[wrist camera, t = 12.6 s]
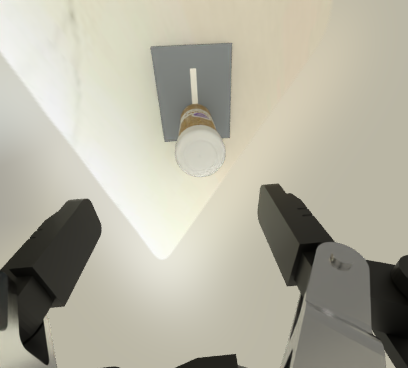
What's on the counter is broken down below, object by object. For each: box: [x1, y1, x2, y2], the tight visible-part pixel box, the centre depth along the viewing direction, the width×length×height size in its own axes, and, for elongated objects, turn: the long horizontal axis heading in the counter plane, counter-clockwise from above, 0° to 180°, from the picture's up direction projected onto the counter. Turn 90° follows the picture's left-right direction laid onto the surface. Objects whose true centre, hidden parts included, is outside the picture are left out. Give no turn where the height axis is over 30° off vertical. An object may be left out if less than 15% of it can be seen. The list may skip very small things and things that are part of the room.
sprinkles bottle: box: [175, 104, 225, 177], centre depth 23 cm, size 5×5×14 cm
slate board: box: [151, 43, 232, 142], centre depth 28 cm, size 12×10×1 cm
